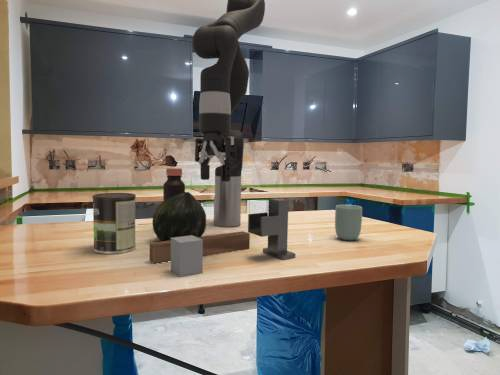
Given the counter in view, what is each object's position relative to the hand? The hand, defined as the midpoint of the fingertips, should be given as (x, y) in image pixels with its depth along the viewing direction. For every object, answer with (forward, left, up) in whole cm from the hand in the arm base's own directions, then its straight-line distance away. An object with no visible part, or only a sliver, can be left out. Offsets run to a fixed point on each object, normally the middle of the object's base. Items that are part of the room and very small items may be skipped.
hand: (214, 180), depth 89 cm
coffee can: (-18, -19, -19) cm, 32 cm away
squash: (-18, -1, -19) cm, 26 cm away
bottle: (-32, +3, -19) cm, 37 cm away
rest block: (+8, -11, -18) cm, 23 cm away
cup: (+5, +43, -19) cm, 47 cm away
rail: (-2, -2, -19) cm, 19 cm away
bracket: (+8, +11, -18) cm, 23 cm away
